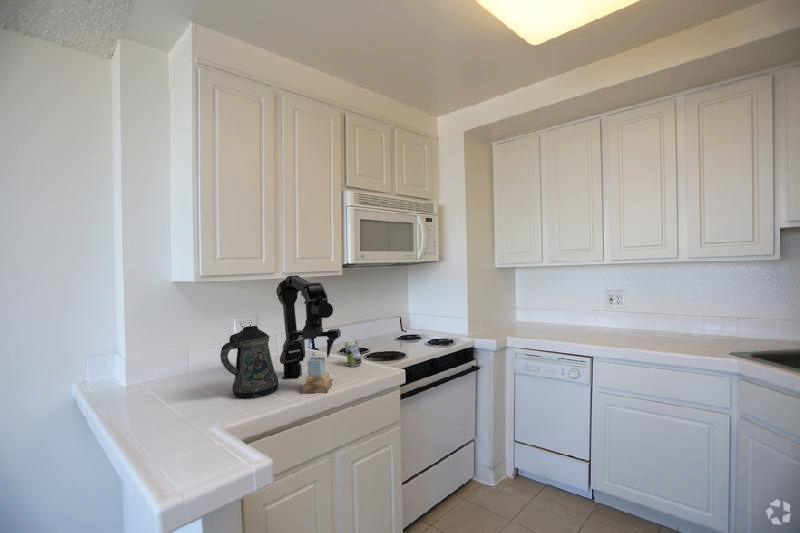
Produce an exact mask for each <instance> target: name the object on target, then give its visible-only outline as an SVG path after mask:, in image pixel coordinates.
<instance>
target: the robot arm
mask: <svg viewBox="0 0 800 533" xmlns="http://www.w3.org/2000/svg"><path fill="white" fill-rule="evenodd" d="M275 291H276V296H277V298H278V299H277V300H278V301H279V303H280V304H281V305H282V309H283V310H282V311H283V321H284V322H283V323H284V331H285V332H284V333H285V341H284V342H283V345H282V352H281V354H280V356H279V362H280V364H281V365H283V377H282V380H283V379H298V378H299V377H300V376H301V375H303V368H302V364H301V362H303V361H304V359H305V358H306V344H305V342H306V341H305V340H315V339H317V338H320V337H321V338H323V337H327V339H326V343H327V344H326V357H327V358H329V357H330V354H331V351H332V348H333V347H332V346H333V345H334V342H335V341H336V340H338V339H339V338H340V337H341V335H342V334H341V332H342V331H341V329H340V328H331V329H328V330H327V331H324V327H323V319H328V318H330V317H332V315H333V312H334V307H333V305H332V304H331V303H330V302H329V298H328V293H327V292H326V290H325V288H324V286H323V284H322V283H321V282H317V281H316V282H314V281H312V282H310V281H308V280H306V279H304V278H302V277H301V276H299V275H295V274H294V275H288V276H286V277H285V279H284V280H282V281H281V282H280V283H278V285H277V287H276V290H275ZM299 292H301V294H300V295H301V297H303V298H304V301H303V304H304V305H305V316H306V317H305V318H306V319H305V324H304V326H303V328H302V329H299V330H297V327H298V326H297V318H296V309H295V308H296V307H295V304H296V302H297V300H298V298H299V297H298V296H299V295H298V293H299Z"/></svg>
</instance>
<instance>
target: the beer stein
mask: <svg viewBox="0 0 800 533" xmlns="http://www.w3.org/2000/svg"><path fill="white" fill-rule="evenodd" d="M228 339H229V342H226V343H224V344H223V346H222V347H221V351H220V355H219V357H220V358H219V359H220V361H221V364H222V366H223V367H224V368H225V369H226V370H227V371H228V372H229V373H230V374H232V375H233V376H234V382H233V384H232V386H231V387H232V393H233V396H234V397H235V398H236V399H239V400H241V399H242V400H253V399H254V400H255V399H259V398H263V397H268V396H270V395H272V394H274V393H276V392H277V391H278V385H279V378H278V376H277V374H276V371H275V369H274V368H275V367H274V364H273V360H272V356H271V351H270V347H269V341H270V335H269V334H268V333H266V332H264V331H262V330H261V329H259V328H258V326H257V325H250V326H249V325H248V326H244V327H243V328H242V329H241V331H239V332H237V333H234V334H231V335H230V336H229V338H228ZM231 350H237V351H236V361H235V362H236V363H235V366H234V365H233V364H232V363H231V361H230V360H229V353H230V351H231Z"/></svg>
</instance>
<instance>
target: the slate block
mask: <svg viewBox="0 0 800 533" xmlns="http://www.w3.org/2000/svg"><path fill="white" fill-rule="evenodd" d="M325 361H326V360H325V357H310V358H309V359H308V360H307V361H306V363H307V377H321V376H323V375H324V374H325V373H326V362H325Z"/></svg>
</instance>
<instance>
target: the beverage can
mask: <svg viewBox="0 0 800 533" xmlns="http://www.w3.org/2000/svg"><path fill="white" fill-rule="evenodd" d="M344 348H345V349H344V350H345V352H346V354H345V355H346V358H347V364H348V366H350V367H351V368H354V367H358V366H360V365H361V364H362V359H361V353H360V347H359V342H358V341H357V339H350V340H347V341H345V343H344Z"/></svg>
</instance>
